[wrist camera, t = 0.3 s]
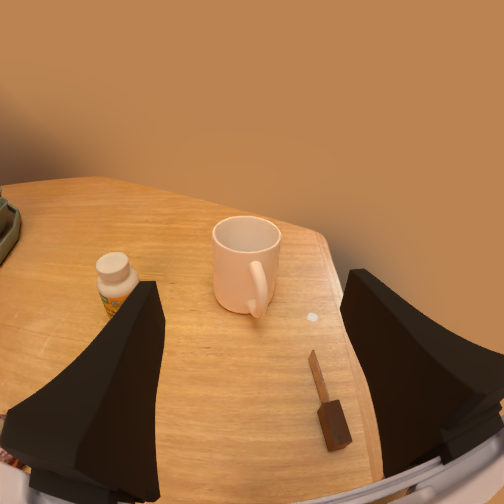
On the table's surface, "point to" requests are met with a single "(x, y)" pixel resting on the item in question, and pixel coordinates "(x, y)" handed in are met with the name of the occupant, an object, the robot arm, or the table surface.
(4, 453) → the pastry
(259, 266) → the mug
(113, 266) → the supplement bottle
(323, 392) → the knife
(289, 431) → the table surface
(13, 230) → the tea set
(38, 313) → the table surface
